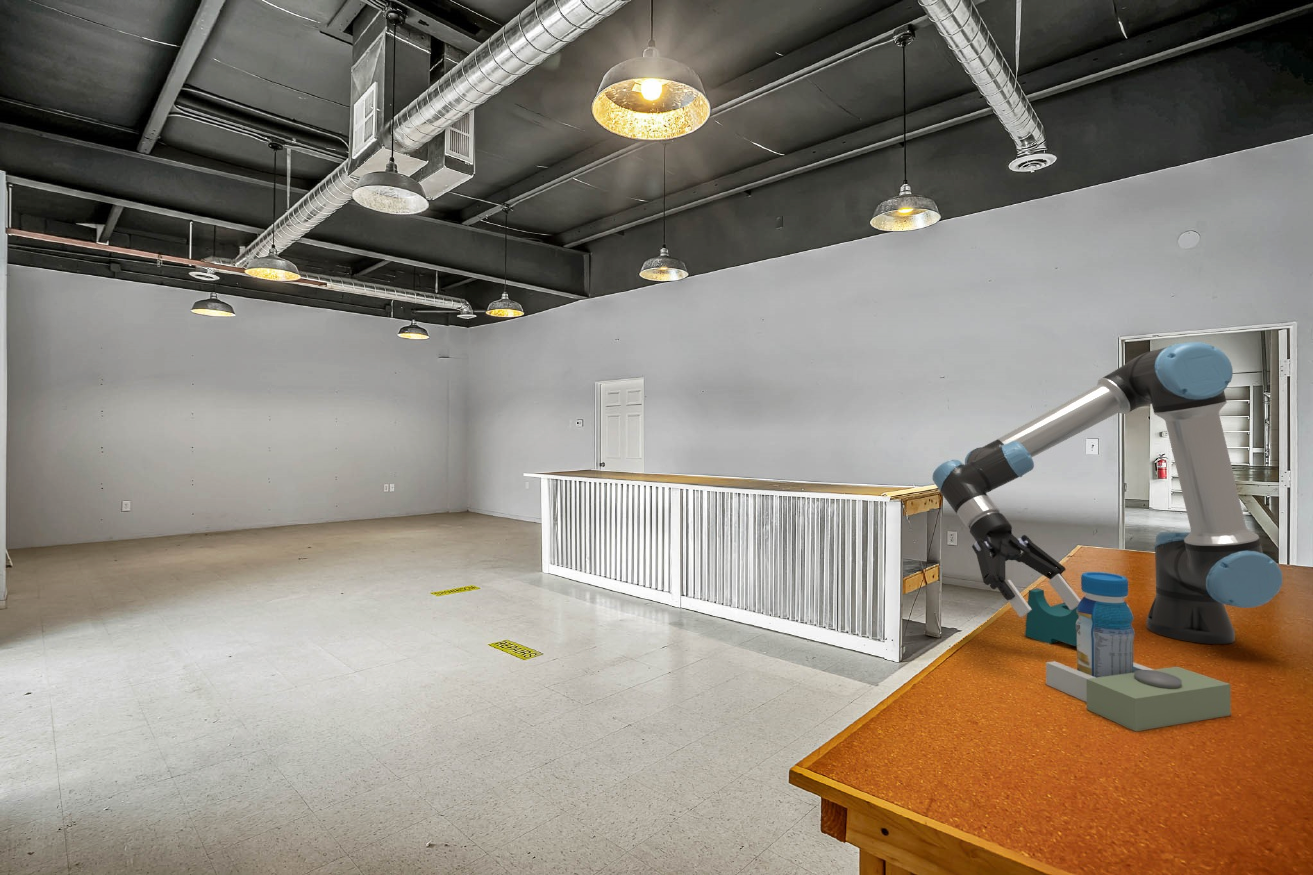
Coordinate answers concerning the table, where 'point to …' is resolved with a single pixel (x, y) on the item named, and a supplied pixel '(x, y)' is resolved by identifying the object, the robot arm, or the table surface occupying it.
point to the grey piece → (1145, 695)
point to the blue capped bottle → (1104, 626)
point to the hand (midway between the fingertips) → (1051, 609)
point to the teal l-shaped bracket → (1050, 620)
